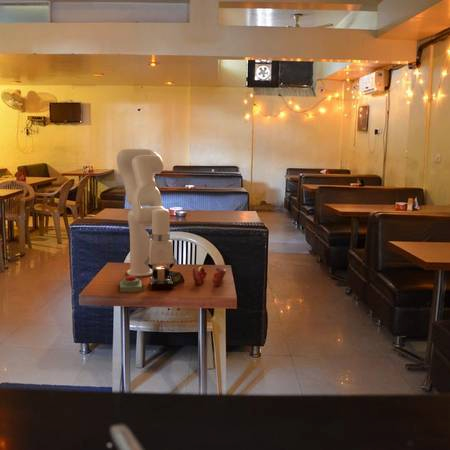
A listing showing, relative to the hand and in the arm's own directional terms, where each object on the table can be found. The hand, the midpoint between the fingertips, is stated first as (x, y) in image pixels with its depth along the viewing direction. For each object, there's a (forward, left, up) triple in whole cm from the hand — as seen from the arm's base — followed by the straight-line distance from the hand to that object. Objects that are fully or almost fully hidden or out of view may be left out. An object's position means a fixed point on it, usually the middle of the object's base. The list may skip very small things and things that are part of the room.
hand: (160, 278), depth 224 cm
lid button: (+1, -13, 0) cm, 13 cm away
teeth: (-3, +22, -4) cm, 23 cm away
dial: (0, 0, -1) cm, 1 cm away
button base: (+1, -13, -4) cm, 14 cm away
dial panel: (0, 0, -4) cm, 4 cm away
